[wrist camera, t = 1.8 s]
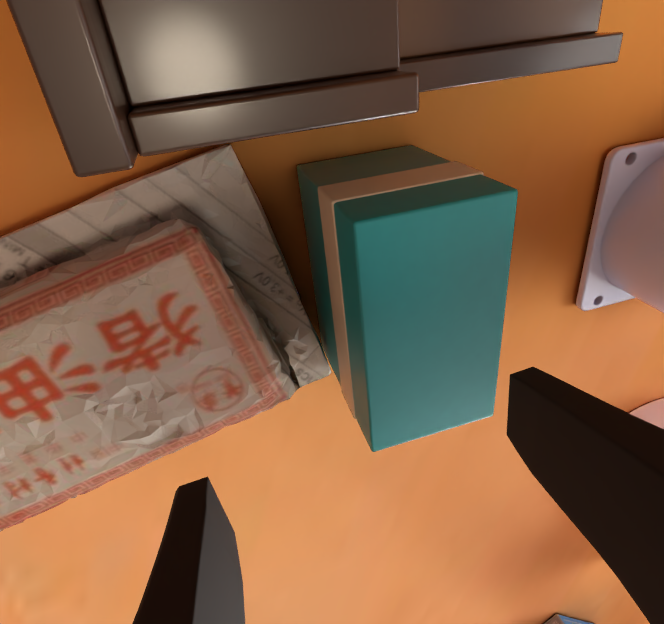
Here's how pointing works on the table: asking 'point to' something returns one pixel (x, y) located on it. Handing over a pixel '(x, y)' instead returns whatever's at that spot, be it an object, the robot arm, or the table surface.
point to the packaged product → (141, 330)
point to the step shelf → (276, 64)
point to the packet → (409, 286)
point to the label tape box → (565, 620)
